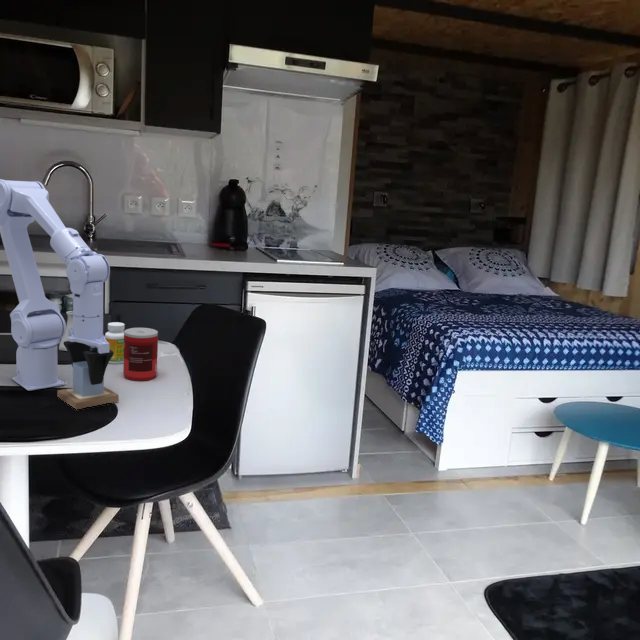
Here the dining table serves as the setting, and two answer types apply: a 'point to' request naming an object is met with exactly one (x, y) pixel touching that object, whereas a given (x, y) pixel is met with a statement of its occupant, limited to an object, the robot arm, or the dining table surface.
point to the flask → (69, 326)
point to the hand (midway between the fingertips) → (88, 378)
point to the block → (84, 380)
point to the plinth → (86, 398)
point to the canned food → (140, 354)
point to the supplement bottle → (116, 341)
